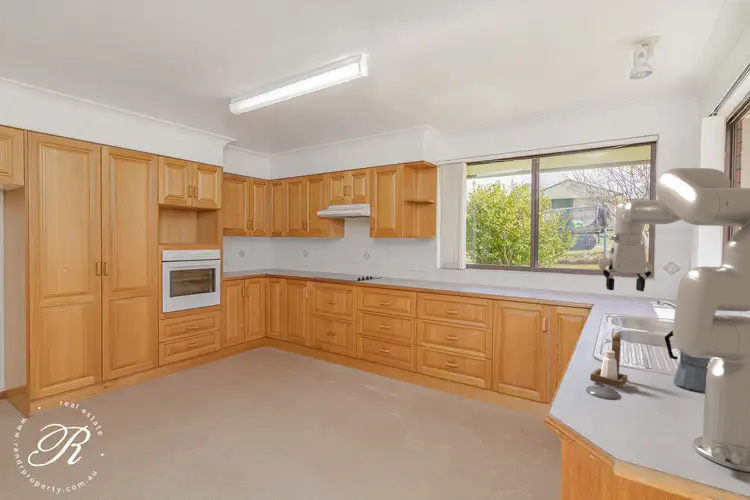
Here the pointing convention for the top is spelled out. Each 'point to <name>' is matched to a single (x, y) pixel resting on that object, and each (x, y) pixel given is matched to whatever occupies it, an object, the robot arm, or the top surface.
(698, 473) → the top surface
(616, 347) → the ring stand
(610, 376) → the pepper shaker
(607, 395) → the coaster
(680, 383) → the moka pot
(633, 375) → the top surface
